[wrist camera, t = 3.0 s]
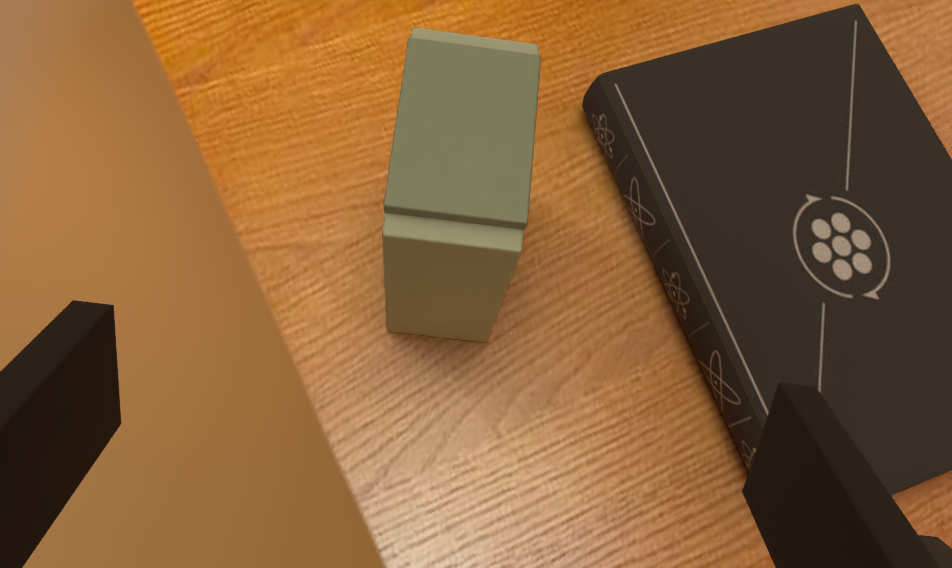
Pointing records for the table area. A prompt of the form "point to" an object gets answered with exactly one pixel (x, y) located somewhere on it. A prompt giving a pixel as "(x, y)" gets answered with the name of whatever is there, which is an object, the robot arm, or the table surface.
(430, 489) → the table surface
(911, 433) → the book
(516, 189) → the grey-green lidded box
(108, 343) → the robot arm
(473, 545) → the table surface
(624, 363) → the table surface
